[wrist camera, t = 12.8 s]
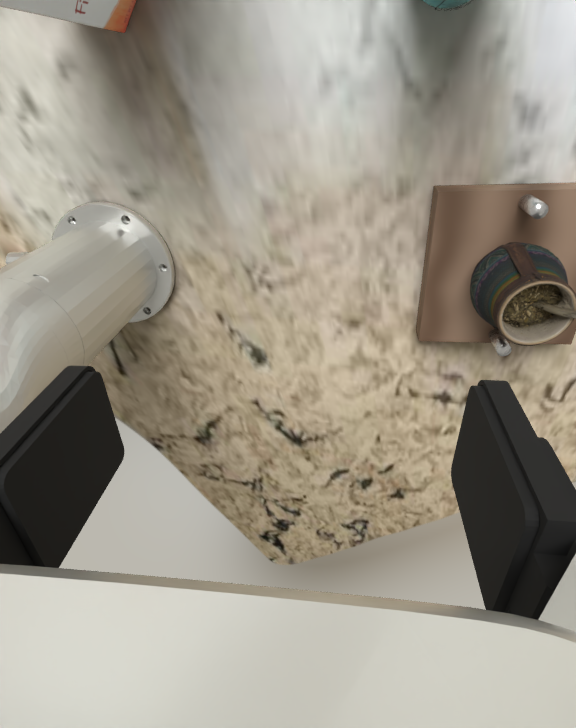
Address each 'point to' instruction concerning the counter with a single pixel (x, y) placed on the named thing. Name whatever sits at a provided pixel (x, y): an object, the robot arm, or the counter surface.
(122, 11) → the cracker box
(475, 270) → the mate gourd
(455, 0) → the beverage bottle
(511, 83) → the counter surface
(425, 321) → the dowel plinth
